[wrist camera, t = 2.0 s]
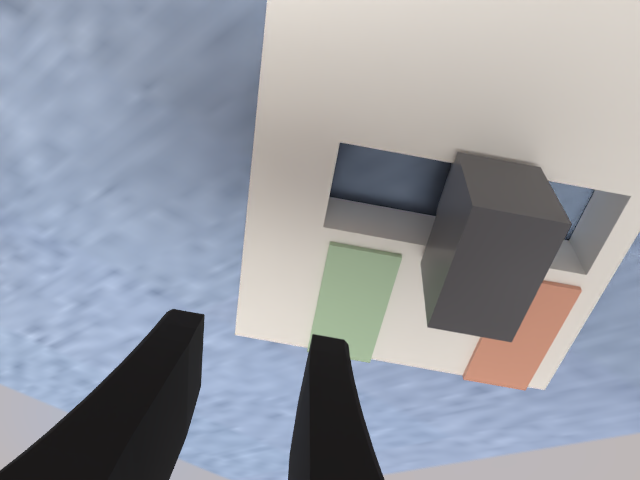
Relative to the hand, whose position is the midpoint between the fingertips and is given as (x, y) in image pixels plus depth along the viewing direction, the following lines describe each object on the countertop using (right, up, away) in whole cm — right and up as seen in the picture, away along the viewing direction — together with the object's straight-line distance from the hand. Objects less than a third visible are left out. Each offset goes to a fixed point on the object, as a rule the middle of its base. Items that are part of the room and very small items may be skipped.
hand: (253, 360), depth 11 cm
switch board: (+5, +5, +8) cm, 10 cm away
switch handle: (+6, +4, +8) cm, 11 cm away
